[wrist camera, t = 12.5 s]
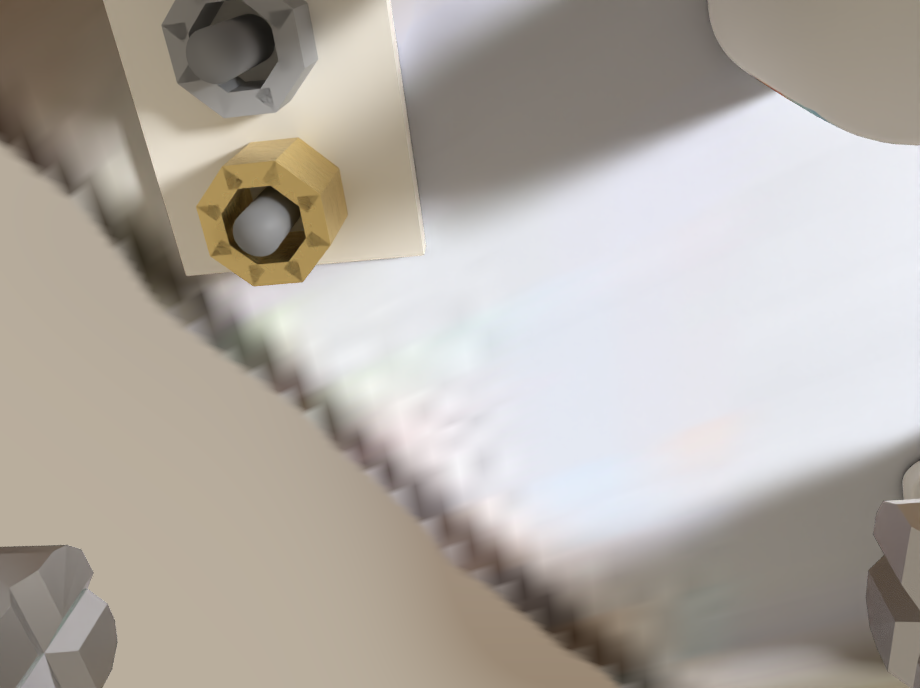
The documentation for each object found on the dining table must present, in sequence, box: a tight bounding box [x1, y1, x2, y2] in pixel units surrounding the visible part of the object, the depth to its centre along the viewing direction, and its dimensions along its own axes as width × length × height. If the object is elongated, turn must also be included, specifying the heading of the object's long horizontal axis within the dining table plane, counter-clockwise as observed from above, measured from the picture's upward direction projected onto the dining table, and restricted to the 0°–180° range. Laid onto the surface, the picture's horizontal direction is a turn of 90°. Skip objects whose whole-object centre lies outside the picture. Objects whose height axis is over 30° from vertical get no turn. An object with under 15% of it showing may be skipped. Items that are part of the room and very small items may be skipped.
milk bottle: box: [708, 0, 920, 145], centre depth 24 cm, size 8×8×20 cm
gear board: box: [103, 0, 426, 276], centre depth 34 cm, size 14×12×6 cm
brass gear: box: [196, 137, 348, 286], centre depth 35 cm, size 5×5×4 cm
